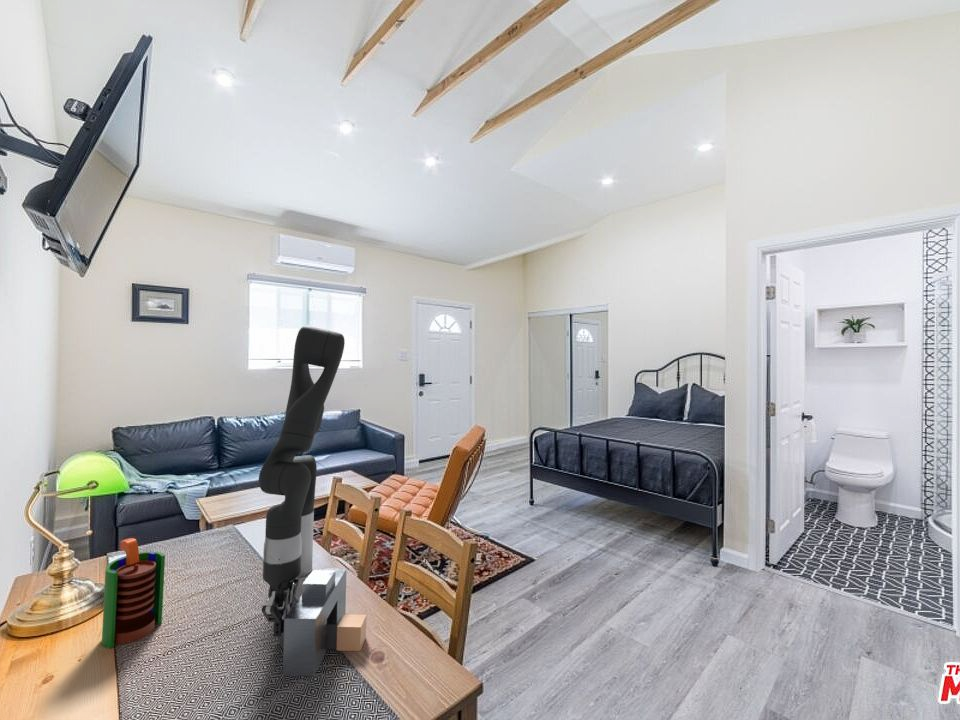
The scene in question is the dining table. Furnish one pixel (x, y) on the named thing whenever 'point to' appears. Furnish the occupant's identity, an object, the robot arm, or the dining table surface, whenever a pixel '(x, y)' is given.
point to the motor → (132, 595)
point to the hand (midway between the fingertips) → (280, 634)
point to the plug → (344, 633)
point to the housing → (313, 620)
